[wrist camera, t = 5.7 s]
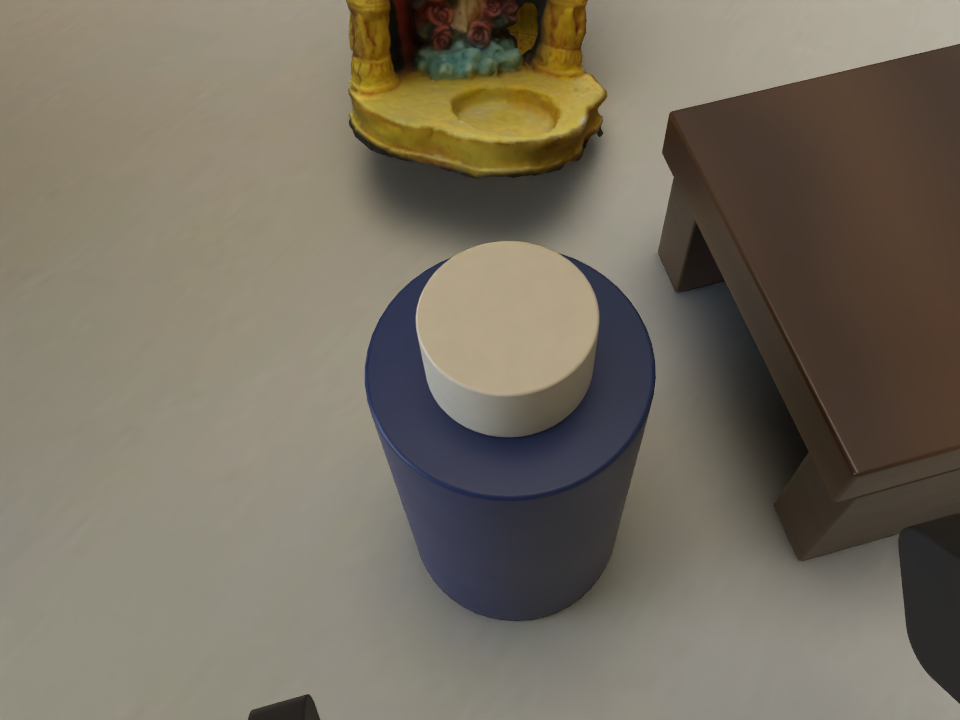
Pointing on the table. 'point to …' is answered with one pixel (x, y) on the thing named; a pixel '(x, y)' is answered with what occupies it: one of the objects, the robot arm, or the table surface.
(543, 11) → the shrine
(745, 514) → the table surface
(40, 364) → the table surface
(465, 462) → the bottle
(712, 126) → the brown wooden stand
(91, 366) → the table surface
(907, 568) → the robot arm
